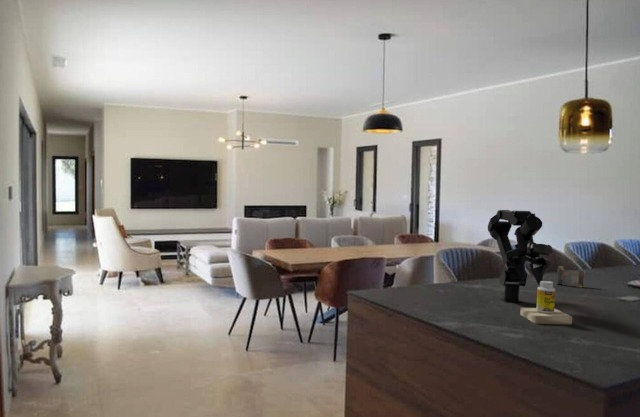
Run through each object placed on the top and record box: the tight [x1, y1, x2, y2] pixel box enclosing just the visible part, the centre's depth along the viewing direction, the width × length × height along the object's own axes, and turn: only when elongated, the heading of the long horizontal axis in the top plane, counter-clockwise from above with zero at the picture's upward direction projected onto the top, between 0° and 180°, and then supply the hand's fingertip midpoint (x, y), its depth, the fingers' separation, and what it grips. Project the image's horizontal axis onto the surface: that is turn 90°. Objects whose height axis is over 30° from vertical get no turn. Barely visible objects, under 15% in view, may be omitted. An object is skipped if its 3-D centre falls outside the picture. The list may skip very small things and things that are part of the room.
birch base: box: [519, 307, 573, 325], centre depth 175 cm, size 12×12×2 cm
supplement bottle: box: [535, 280, 556, 313], centre depth 175 cm, size 6×6×10 cm
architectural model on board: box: [556, 265, 586, 288], centre depth 242 cm, size 11×3×10 cm, turn 64°
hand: (532, 281), depth 185 cm, fingers open, 9 cm apart
